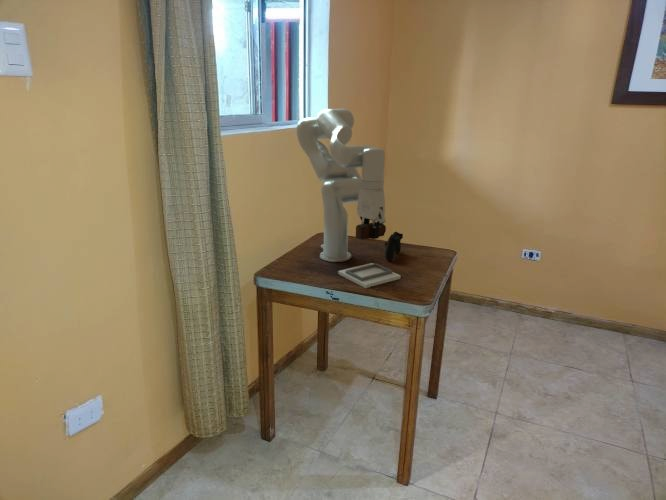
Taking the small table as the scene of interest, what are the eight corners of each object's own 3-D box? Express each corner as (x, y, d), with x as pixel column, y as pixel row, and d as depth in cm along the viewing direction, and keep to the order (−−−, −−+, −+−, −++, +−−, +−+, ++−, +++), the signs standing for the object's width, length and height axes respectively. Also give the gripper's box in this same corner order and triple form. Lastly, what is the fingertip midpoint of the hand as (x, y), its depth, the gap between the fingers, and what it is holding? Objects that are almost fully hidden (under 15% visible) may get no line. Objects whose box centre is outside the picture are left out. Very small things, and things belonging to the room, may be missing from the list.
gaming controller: (389, 251, 194) (391, 228, 191) (403, 252, 192) (405, 229, 189) (380, 261, 182) (381, 236, 179) (395, 263, 180) (396, 238, 177)
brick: (362, 240, 157) (362, 227, 156) (355, 237, 160) (355, 224, 159) (385, 236, 163) (386, 223, 161) (378, 233, 166) (379, 220, 164)
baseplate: (338, 273, 168) (338, 268, 167) (372, 265, 176) (372, 260, 176) (365, 288, 155) (365, 282, 155) (400, 278, 164) (400, 272, 163)
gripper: (348, 182, 160) (347, 232, 166) (380, 190, 147) (377, 244, 153) (365, 180, 164) (363, 229, 170) (397, 188, 151) (394, 241, 157)
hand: (370, 236), depth 161 cm, fingers closed on brick, 4 cm apart
